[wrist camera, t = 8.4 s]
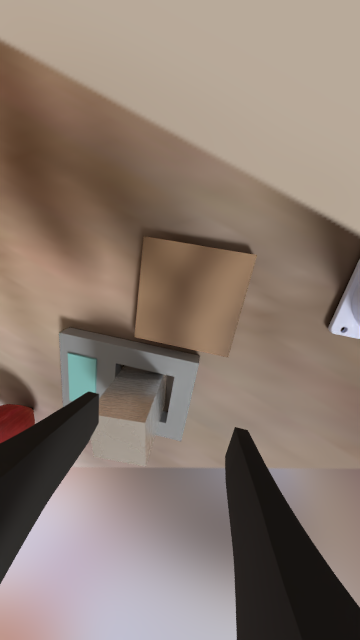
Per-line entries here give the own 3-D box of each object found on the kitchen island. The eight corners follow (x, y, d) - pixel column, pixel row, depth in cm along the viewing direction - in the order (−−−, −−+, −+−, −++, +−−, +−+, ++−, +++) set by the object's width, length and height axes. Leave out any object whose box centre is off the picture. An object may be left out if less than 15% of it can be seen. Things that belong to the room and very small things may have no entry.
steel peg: (166, 368, 20) (145, 422, 13) (165, 402, 21) (145, 466, 15) (126, 363, 20) (87, 413, 14) (128, 396, 22) (93, 456, 15)
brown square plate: (254, 255, 15) (257, 255, 14) (227, 352, 18) (228, 357, 17) (147, 237, 16) (143, 236, 15) (138, 333, 19) (134, 337, 18)
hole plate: (199, 355, 19) (198, 364, 17) (182, 429, 22) (180, 443, 20) (69, 327, 20) (57, 333, 18) (72, 401, 23) (62, 412, 22)
